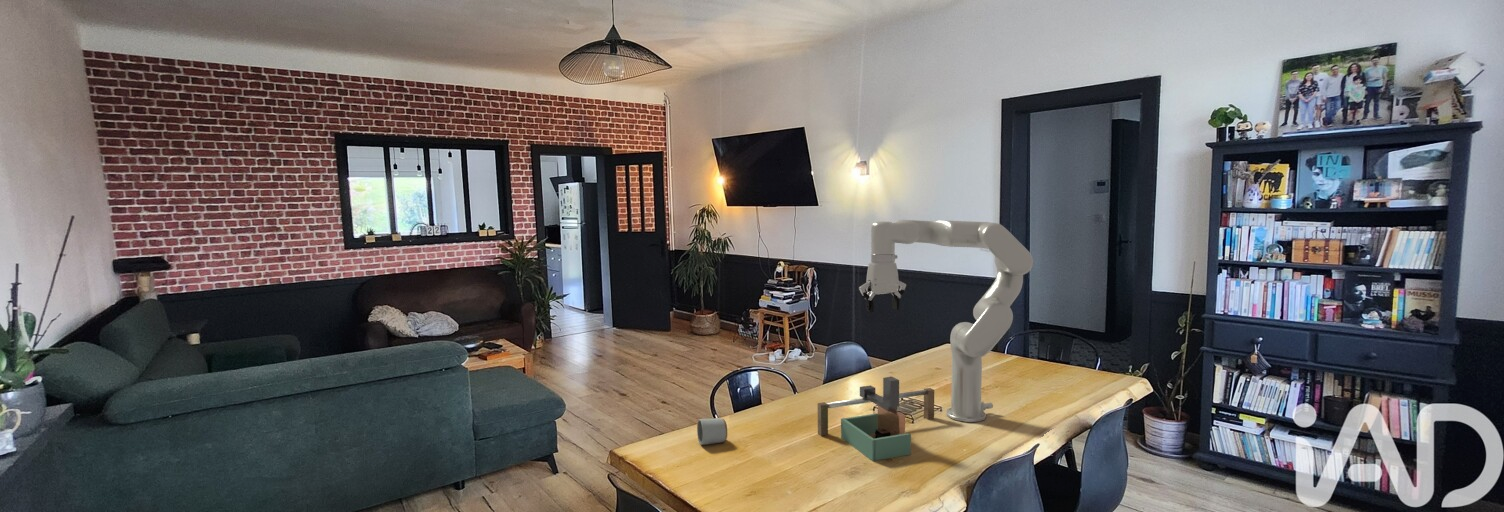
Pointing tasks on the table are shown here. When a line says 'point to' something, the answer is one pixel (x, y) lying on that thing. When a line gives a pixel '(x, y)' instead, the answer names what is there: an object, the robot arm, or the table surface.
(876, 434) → the black block
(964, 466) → the table surface
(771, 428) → the table surface
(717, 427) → the ceramic mug
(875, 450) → the box
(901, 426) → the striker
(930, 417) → the rod rail
